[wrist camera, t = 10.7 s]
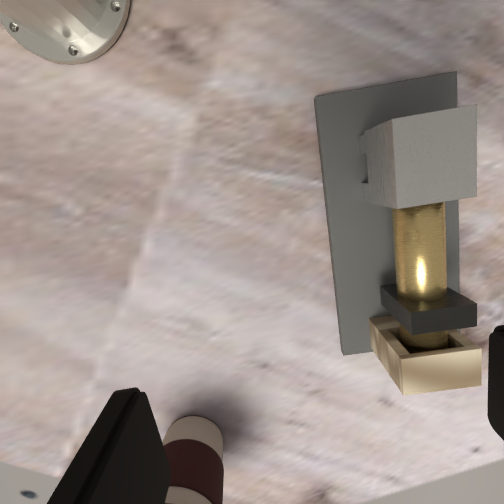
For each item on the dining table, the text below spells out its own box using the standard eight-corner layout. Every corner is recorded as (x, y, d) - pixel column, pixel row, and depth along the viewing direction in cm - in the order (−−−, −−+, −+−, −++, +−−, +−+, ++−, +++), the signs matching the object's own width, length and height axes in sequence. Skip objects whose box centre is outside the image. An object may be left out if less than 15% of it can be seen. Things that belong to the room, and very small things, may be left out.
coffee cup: (173, 393, 38) (120, 526, 23) (246, 422, 39) (240, 569, 24) (145, 453, 40) (81, 609, 26) (215, 480, 41) (192, 646, 26)
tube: (371, 174, 29) (403, 173, 23) (428, 165, 29) (476, 161, 22) (384, 347, 33) (414, 387, 27) (434, 340, 33) (476, 379, 26)
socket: (368, 318, 34) (401, 359, 27) (430, 309, 34) (481, 348, 26) (371, 347, 35) (403, 395, 27) (431, 339, 35) (481, 385, 27)
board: (313, 99, 30) (315, 96, 29) (450, 74, 30) (456, 71, 29) (341, 350, 36) (343, 355, 35) (454, 335, 36) (460, 339, 35)
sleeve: (357, 134, 30) (392, 118, 22) (419, 123, 30) (476, 104, 22) (362, 201, 31) (397, 209, 24) (421, 192, 31) (476, 196, 23)
